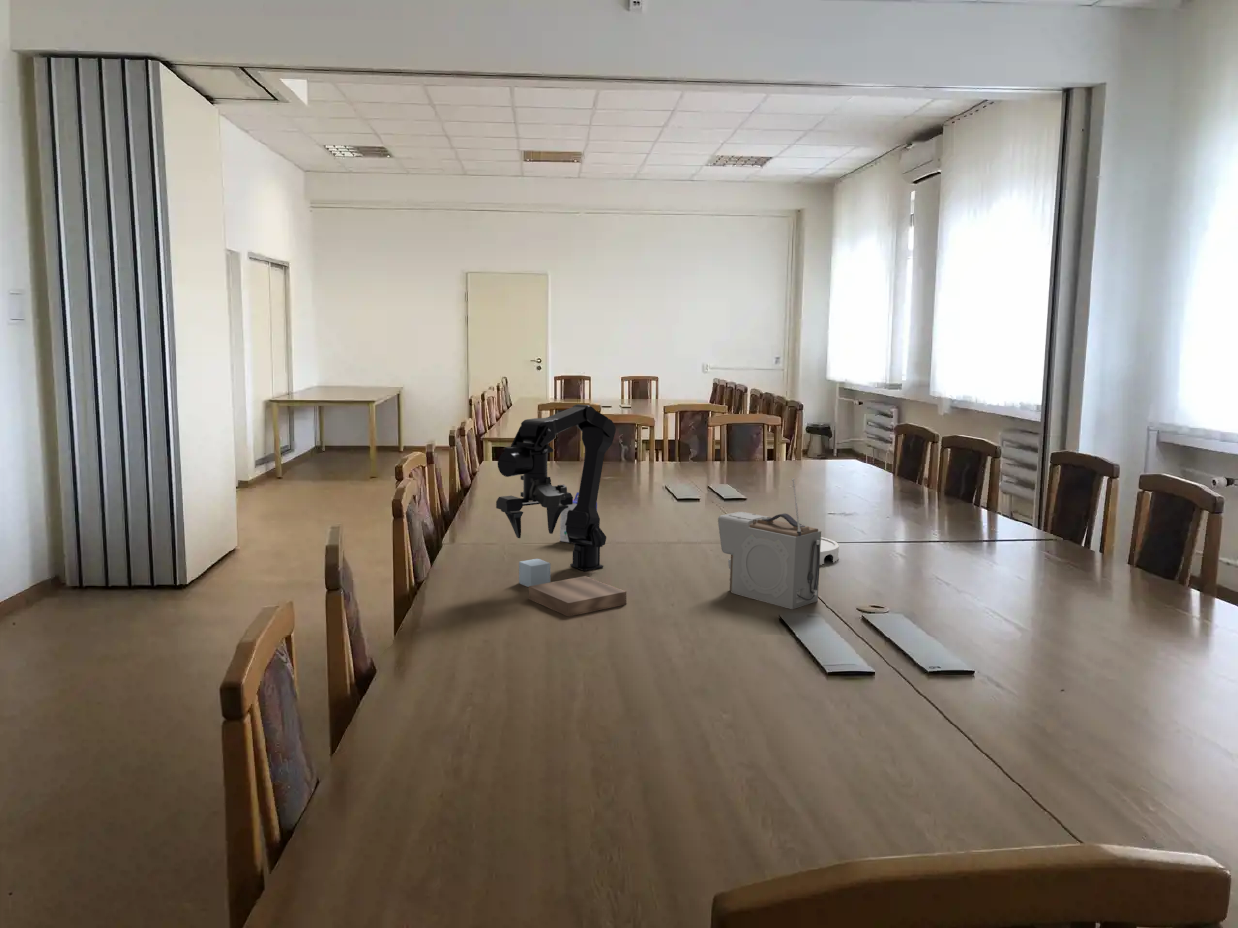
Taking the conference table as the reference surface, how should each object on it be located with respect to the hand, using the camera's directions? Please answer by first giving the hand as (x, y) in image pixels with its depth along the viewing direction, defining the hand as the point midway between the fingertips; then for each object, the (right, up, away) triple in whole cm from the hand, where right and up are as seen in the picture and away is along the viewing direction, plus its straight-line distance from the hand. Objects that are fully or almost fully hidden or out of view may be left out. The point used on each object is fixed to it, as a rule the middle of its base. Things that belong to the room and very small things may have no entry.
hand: (534, 535), depth 220 cm
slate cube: (0, -12, +2) cm, 12 cm away
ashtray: (+70, -9, +36) cm, 80 cm away
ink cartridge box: (+8, -6, +47) cm, 48 cm away
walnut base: (+11, -14, -12) cm, 22 cm away
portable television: (+55, -14, -4) cm, 57 cm away
